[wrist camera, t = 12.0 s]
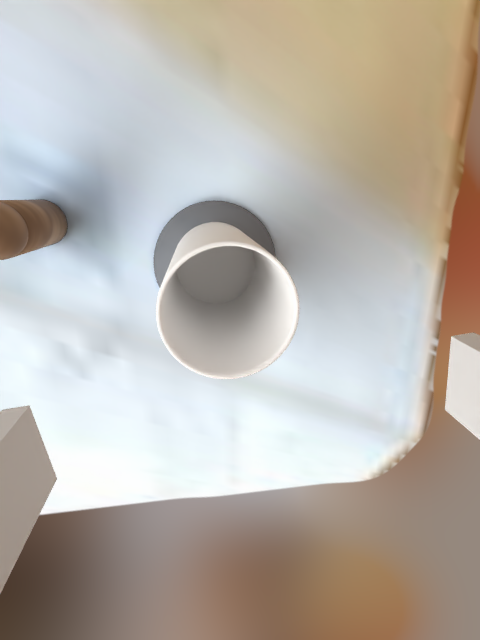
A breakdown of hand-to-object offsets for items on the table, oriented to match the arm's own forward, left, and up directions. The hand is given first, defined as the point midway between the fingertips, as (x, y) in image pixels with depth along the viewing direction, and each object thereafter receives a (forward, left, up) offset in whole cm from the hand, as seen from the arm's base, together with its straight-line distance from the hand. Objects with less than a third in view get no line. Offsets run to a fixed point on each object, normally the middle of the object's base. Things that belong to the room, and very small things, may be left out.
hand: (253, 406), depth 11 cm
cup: (0, 0, -26) cm, 26 cm away
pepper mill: (-6, -15, -26) cm, 31 cm away
